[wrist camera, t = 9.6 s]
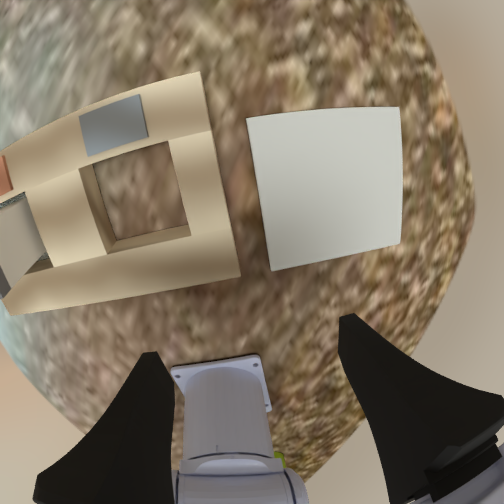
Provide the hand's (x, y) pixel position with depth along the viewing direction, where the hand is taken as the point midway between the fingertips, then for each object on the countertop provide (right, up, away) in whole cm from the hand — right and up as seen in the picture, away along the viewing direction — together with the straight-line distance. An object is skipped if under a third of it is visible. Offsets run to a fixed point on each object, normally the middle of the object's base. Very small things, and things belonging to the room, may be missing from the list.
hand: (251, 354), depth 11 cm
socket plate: (-12, +7, +6) cm, 15 cm away
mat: (+5, +8, +7) cm, 12 cm away
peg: (-17, +6, +6) cm, 18 cm away
